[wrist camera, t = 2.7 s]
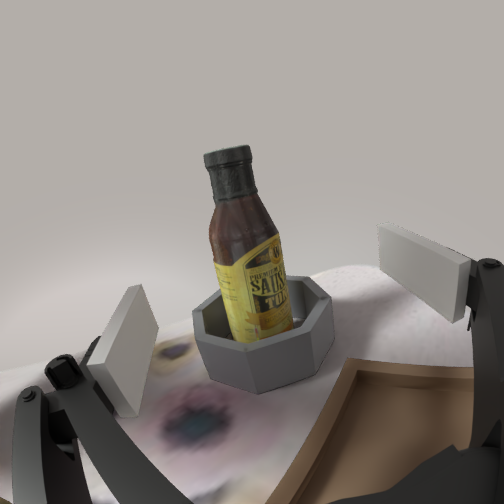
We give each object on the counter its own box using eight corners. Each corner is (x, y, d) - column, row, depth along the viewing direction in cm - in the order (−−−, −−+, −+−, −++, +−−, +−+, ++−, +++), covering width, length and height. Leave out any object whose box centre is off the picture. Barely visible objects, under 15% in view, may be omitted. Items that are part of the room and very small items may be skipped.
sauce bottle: (277, 372, 26) (227, 146, 19) (225, 357, 29) (169, 162, 23) (307, 332, 30) (274, 138, 24) (259, 323, 34) (219, 151, 28)
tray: (260, 530, 11) (251, 521, 10) (347, 378, 23) (347, 357, 22) (490, 560, 3) (509, 552, 2) (507, 388, 14) (517, 366, 14)
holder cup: (183, 368, 28) (167, 330, 27) (248, 306, 38) (240, 272, 37) (297, 405, 21) (289, 362, 20) (345, 317, 31) (342, 278, 30)
